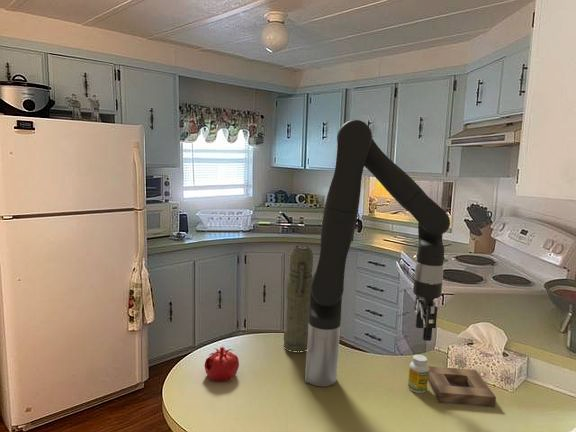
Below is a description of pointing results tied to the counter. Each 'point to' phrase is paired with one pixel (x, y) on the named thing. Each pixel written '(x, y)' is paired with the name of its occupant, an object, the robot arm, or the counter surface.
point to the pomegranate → (221, 365)
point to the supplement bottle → (418, 374)
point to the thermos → (298, 299)
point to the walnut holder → (460, 387)
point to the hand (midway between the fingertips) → (422, 333)
